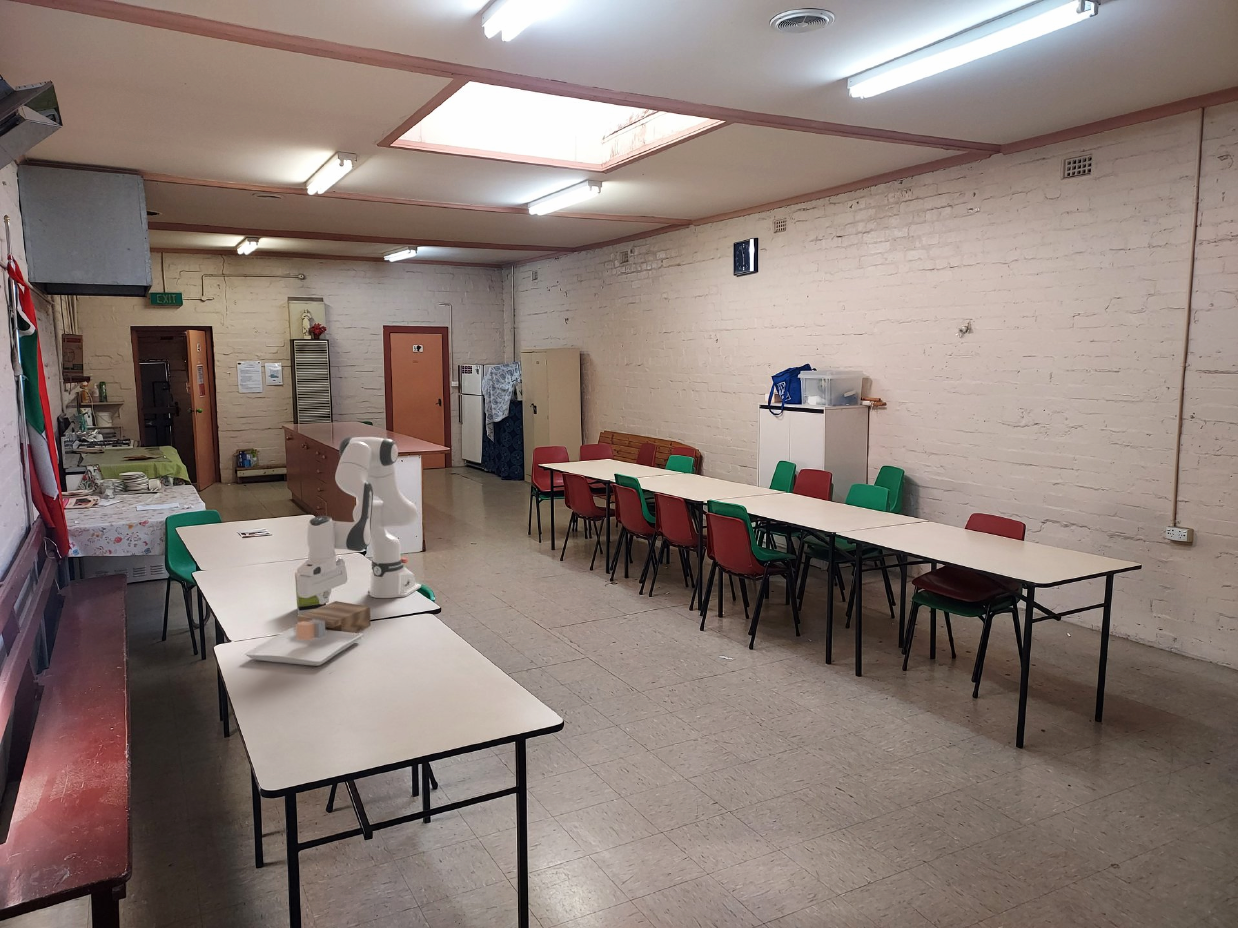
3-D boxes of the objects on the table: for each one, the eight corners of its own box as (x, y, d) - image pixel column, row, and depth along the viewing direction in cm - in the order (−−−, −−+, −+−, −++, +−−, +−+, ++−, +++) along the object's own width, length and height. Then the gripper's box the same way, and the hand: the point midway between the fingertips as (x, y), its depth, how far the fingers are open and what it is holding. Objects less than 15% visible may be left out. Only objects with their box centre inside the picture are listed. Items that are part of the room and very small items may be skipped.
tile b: (313, 619, 278) (306, 621, 275) (324, 621, 276) (318, 623, 274) (313, 633, 279) (307, 635, 276) (325, 635, 277) (319, 638, 274)
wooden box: (336, 619, 304) (335, 600, 303) (370, 625, 297) (370, 606, 296) (297, 634, 286) (297, 615, 285) (333, 641, 280) (332, 622, 279)
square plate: (321, 672, 255) (320, 660, 255) (243, 664, 260) (242, 653, 260) (364, 642, 282) (364, 631, 281) (292, 636, 287) (292, 625, 286)
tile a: (302, 621, 276) (296, 623, 273) (314, 623, 274) (308, 625, 272) (303, 635, 277) (296, 638, 274) (314, 637, 275) (308, 640, 272)
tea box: (296, 608, 316) (294, 571, 314) (323, 605, 320) (322, 568, 318) (298, 620, 302) (297, 581, 300) (327, 616, 306) (325, 578, 304)
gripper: (336, 555, 289) (338, 593, 291) (292, 570, 270) (295, 610, 272) (350, 557, 286) (352, 595, 288) (307, 572, 268) (309, 613, 270)
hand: (324, 602), depth 280 cm, fingers closed
